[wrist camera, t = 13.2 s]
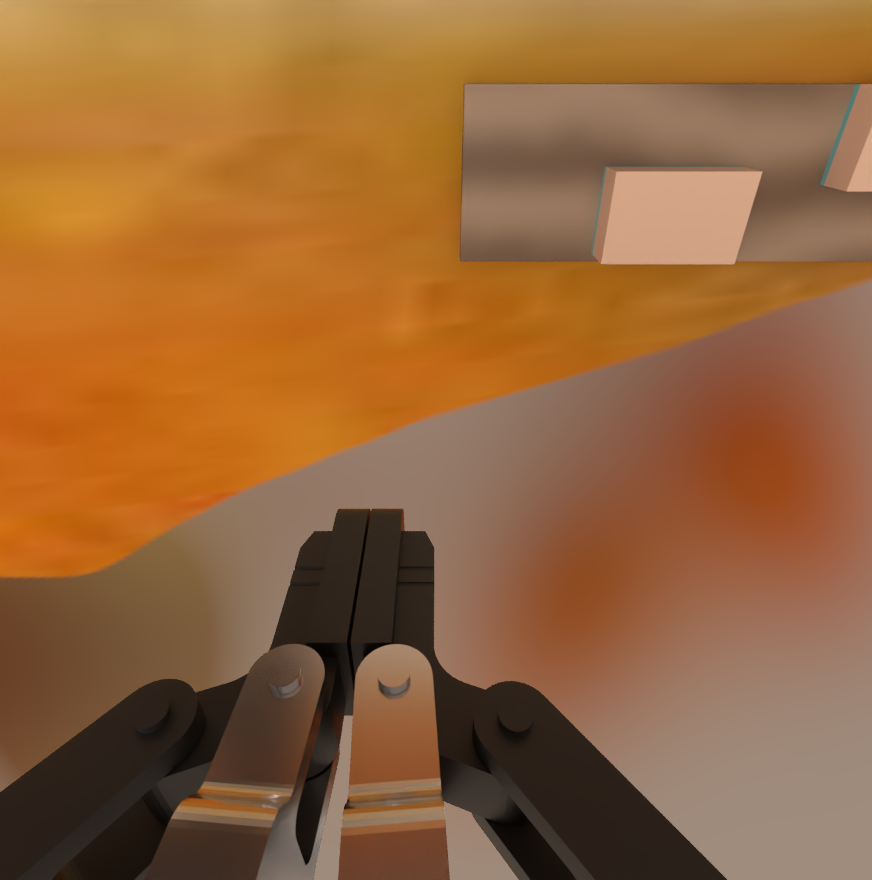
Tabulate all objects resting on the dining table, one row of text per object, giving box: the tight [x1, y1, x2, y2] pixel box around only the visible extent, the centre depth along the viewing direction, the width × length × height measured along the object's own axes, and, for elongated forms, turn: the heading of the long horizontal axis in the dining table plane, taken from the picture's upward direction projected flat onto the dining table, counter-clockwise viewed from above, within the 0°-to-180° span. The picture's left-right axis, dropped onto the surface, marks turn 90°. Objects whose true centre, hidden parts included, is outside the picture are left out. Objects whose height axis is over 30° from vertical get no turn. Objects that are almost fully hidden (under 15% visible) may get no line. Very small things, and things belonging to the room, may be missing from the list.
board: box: [460, 84, 872, 262], centre depth 32 cm, size 10×28×1 cm, turn 90°
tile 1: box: [591, 166, 762, 264], centre depth 32 cm, size 5×2×8 cm
